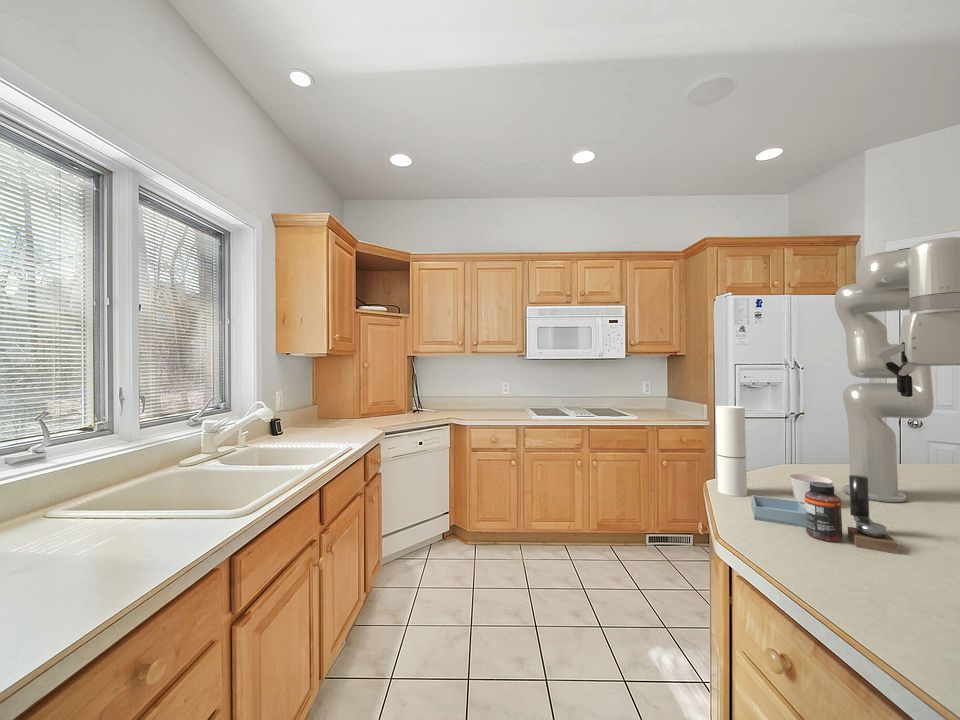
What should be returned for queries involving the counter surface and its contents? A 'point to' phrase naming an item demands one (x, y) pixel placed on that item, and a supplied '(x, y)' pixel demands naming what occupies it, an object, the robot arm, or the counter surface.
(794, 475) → the white bowl
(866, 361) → the robot arm
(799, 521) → the tray
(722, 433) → the cylindrical container
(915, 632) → the counter surface
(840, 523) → the supplement bottle
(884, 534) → the crank
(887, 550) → the crank base
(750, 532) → the counter surface
